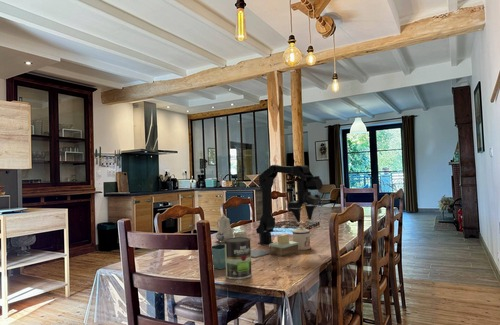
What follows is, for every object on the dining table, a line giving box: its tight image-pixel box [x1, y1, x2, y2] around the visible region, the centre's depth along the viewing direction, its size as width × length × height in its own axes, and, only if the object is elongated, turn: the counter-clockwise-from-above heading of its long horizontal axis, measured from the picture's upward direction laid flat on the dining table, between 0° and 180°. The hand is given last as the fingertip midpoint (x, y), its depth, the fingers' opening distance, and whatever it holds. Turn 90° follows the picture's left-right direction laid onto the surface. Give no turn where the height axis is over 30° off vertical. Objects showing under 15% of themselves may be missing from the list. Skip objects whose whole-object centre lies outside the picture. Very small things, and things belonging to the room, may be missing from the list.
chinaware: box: [215, 214, 248, 243], centre depth 205 cm, size 28×17×17 cm, turn 35°
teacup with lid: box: [291, 225, 311, 251], centre depth 175 cm, size 12×9×12 cm
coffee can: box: [223, 236, 253, 280], centre depth 131 cm, size 10×10×14 cm
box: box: [268, 244, 299, 258], centre depth 164 cm, size 9×11×4 cm
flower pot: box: [211, 243, 226, 270], centre depth 144 cm, size 9×9×9 cm
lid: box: [268, 233, 298, 248], centre depth 164 cm, size 9×11×6 cm
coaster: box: [250, 248, 271, 259], centre depth 166 cm, size 12×12×1 cm
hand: (304, 220), depth 170 cm, fingers open, 9 cm apart
